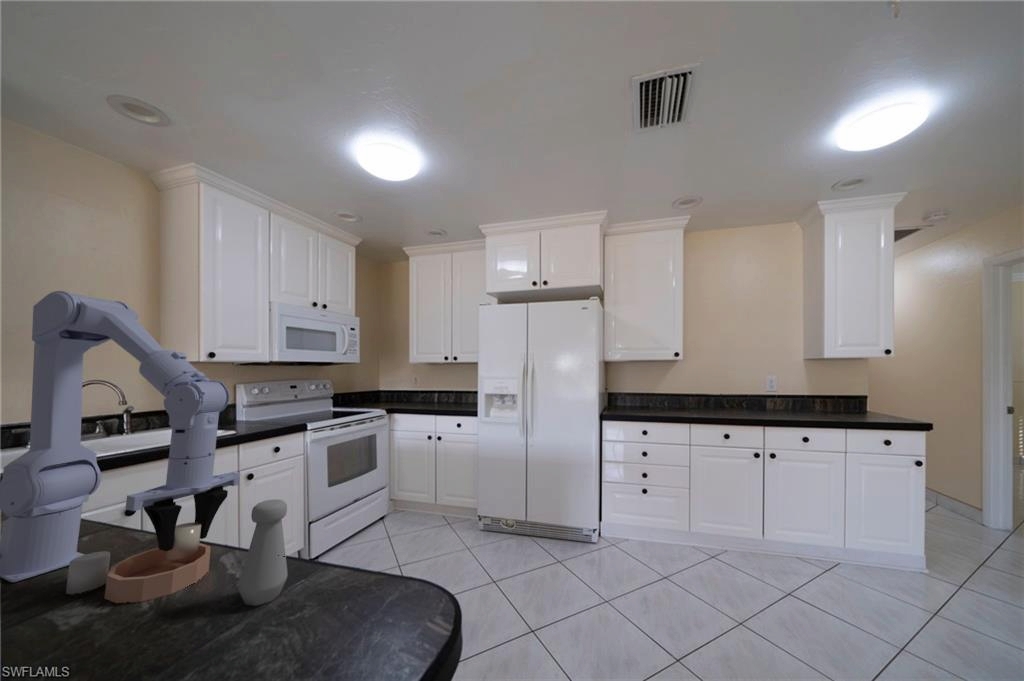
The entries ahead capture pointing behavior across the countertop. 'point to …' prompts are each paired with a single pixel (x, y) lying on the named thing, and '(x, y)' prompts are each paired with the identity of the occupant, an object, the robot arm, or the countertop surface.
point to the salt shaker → (265, 555)
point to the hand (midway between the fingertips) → (183, 543)
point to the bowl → (154, 575)
